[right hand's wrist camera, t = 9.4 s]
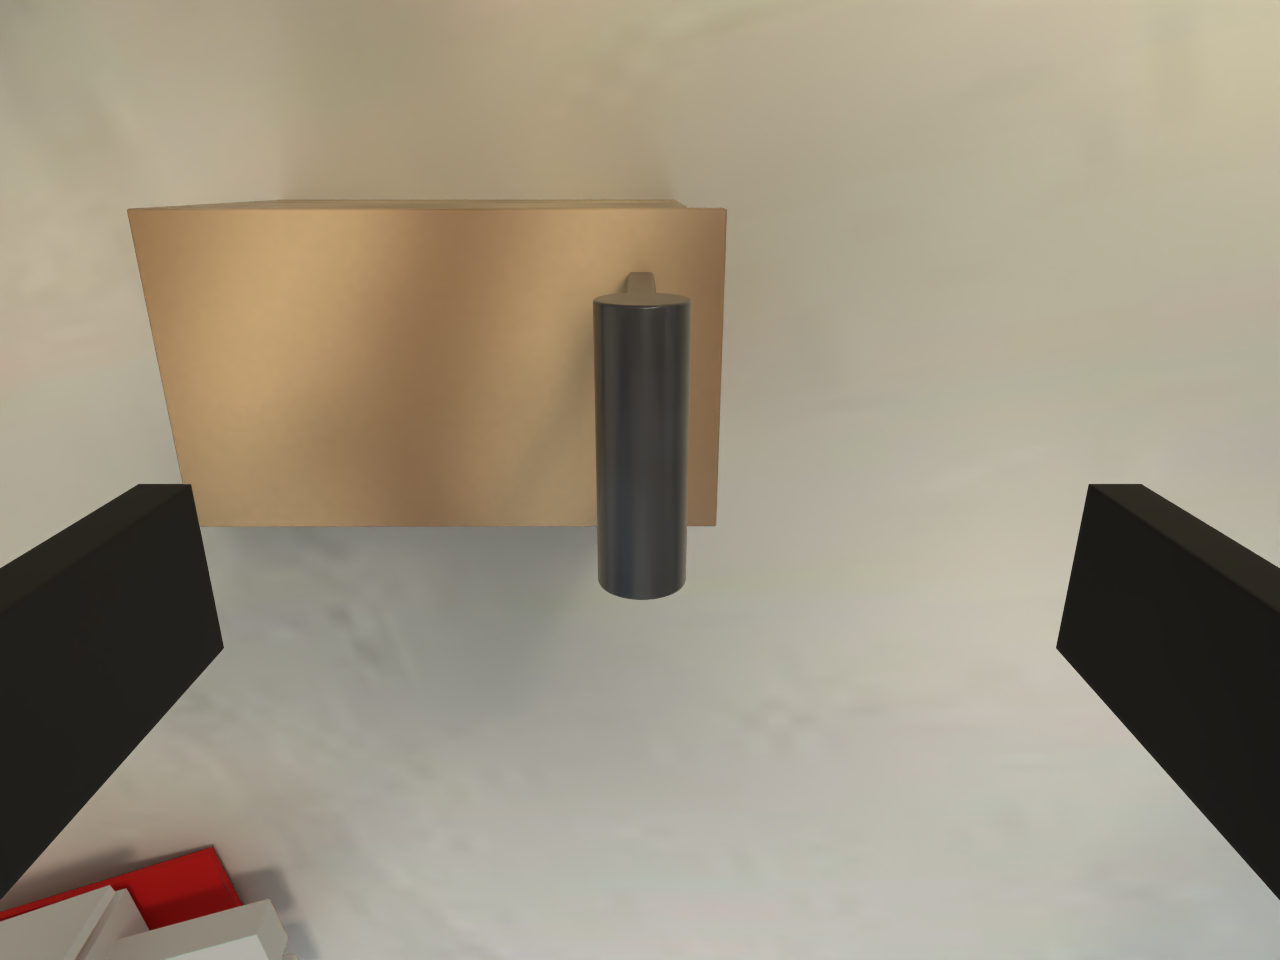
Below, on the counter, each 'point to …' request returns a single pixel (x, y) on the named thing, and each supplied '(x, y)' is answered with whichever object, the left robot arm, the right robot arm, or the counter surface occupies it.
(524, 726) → the counter surface
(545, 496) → the lid
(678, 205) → the chest
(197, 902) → the toy
